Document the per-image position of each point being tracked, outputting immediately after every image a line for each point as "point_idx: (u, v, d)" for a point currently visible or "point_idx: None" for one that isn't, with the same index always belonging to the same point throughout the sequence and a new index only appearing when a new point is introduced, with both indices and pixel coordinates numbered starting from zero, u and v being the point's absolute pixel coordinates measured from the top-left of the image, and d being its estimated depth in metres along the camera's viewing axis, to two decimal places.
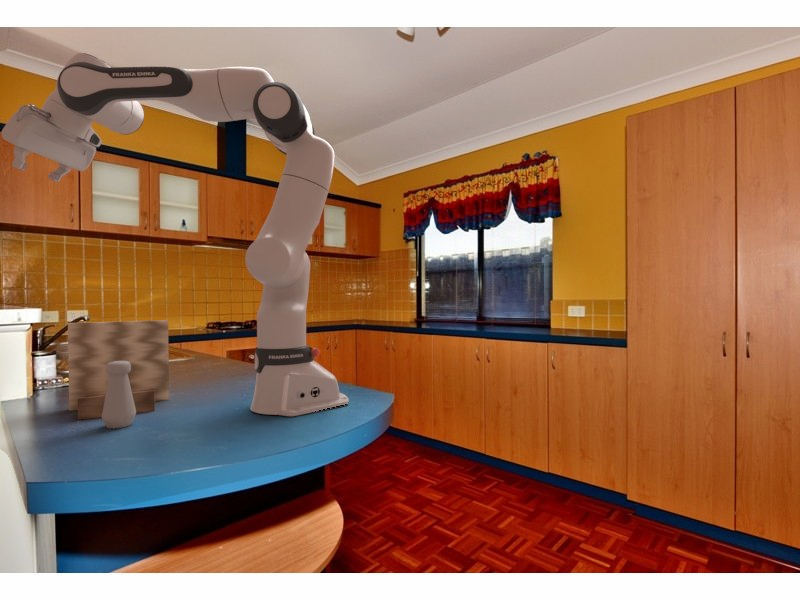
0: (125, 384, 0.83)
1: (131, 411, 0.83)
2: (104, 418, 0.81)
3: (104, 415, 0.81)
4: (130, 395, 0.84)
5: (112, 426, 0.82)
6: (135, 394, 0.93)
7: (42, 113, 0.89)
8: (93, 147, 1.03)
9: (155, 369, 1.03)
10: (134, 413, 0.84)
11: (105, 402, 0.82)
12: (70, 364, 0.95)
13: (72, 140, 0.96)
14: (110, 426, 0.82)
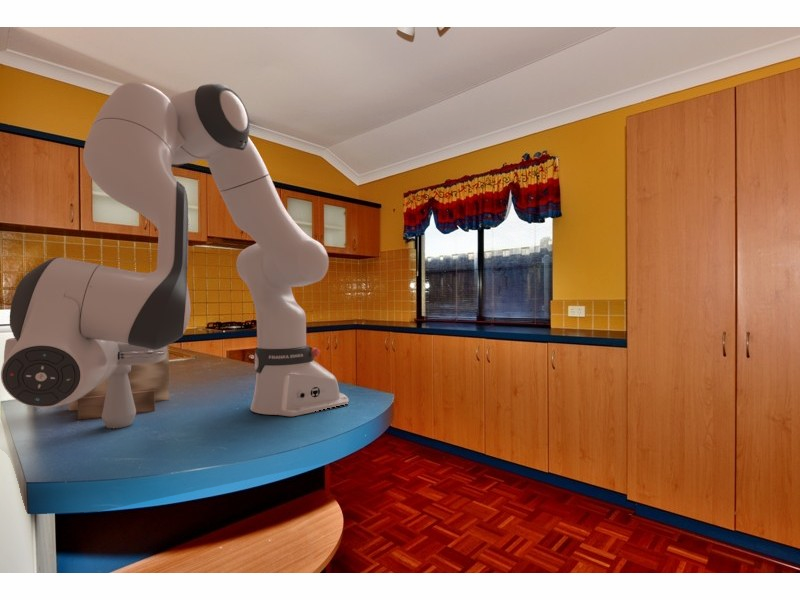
0: (125, 384, 0.83)
1: (131, 411, 0.83)
2: (104, 418, 0.81)
3: (104, 415, 0.81)
4: (130, 395, 0.84)
5: (112, 426, 0.82)
6: (135, 394, 0.93)
7: (133, 351, 0.63)
8: None
9: (155, 369, 1.03)
10: (134, 413, 0.84)
11: (105, 402, 0.82)
12: None
13: None
14: (110, 426, 0.82)
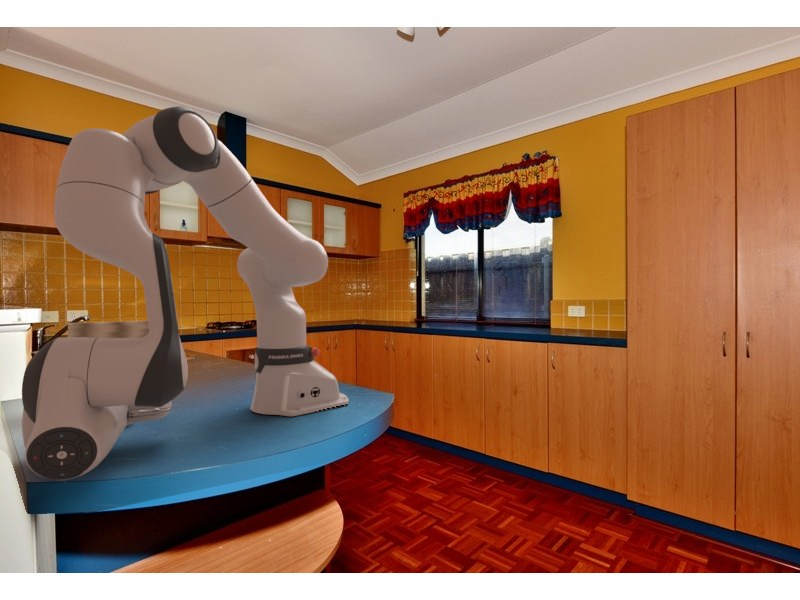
0: None
1: None
2: None
3: None
4: None
5: None
6: None
7: (141, 410, 0.68)
8: None
9: None
10: None
11: None
12: None
13: None
14: None
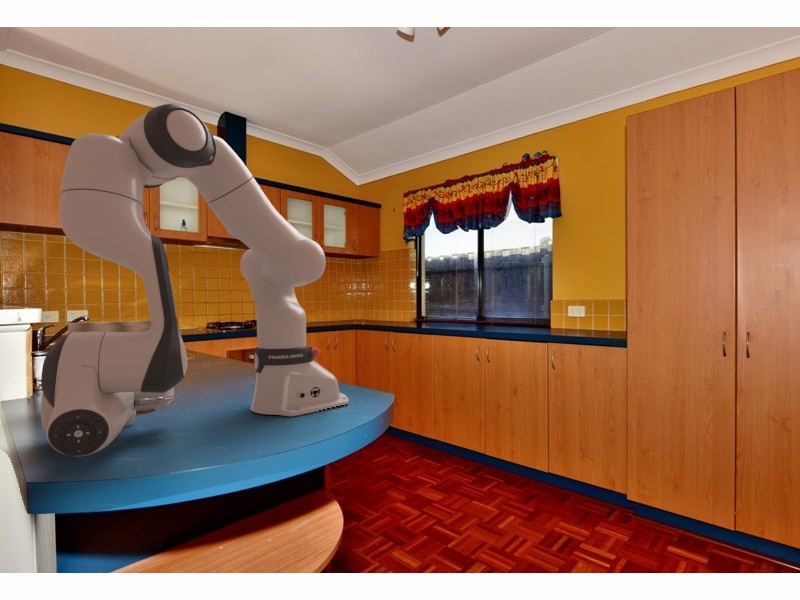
0: None
1: None
2: None
3: None
4: None
5: None
6: None
7: (146, 398, 0.75)
8: None
9: None
10: (134, 413, 0.84)
11: None
12: None
13: None
14: None
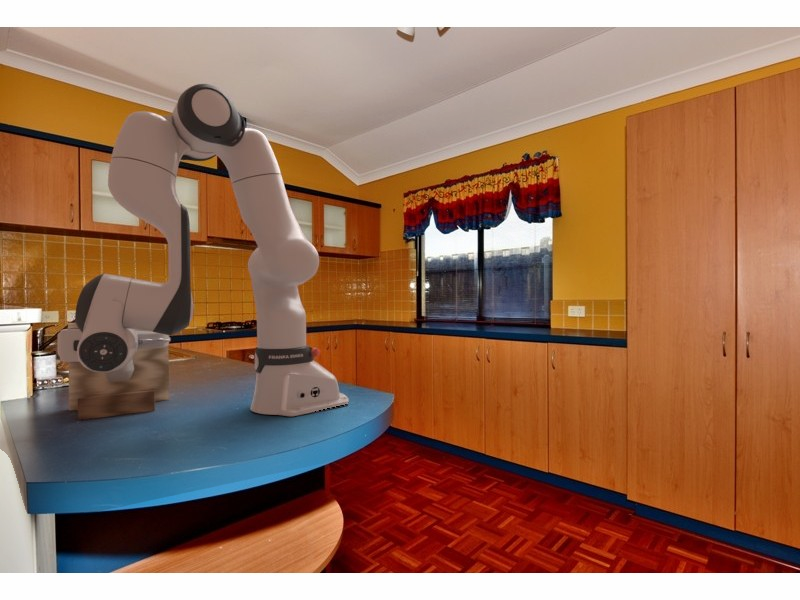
0: None
1: (130, 367, 0.96)
2: None
3: None
4: None
5: (114, 379, 0.94)
6: (135, 394, 0.93)
7: (148, 339, 0.89)
8: None
9: (155, 369, 1.03)
10: (133, 369, 0.97)
11: None
12: (70, 364, 0.95)
13: None
14: (112, 379, 0.94)
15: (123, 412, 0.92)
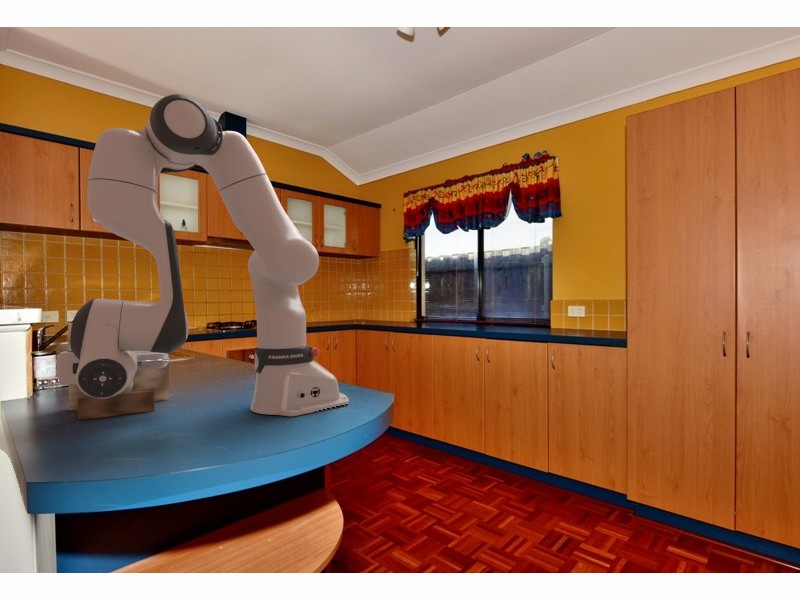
0: None
1: None
2: None
3: None
4: None
5: None
6: (135, 394, 0.93)
7: (148, 360, 0.89)
8: None
9: (155, 369, 1.03)
10: (132, 385, 0.97)
11: None
12: None
13: None
14: None
15: (123, 412, 0.92)
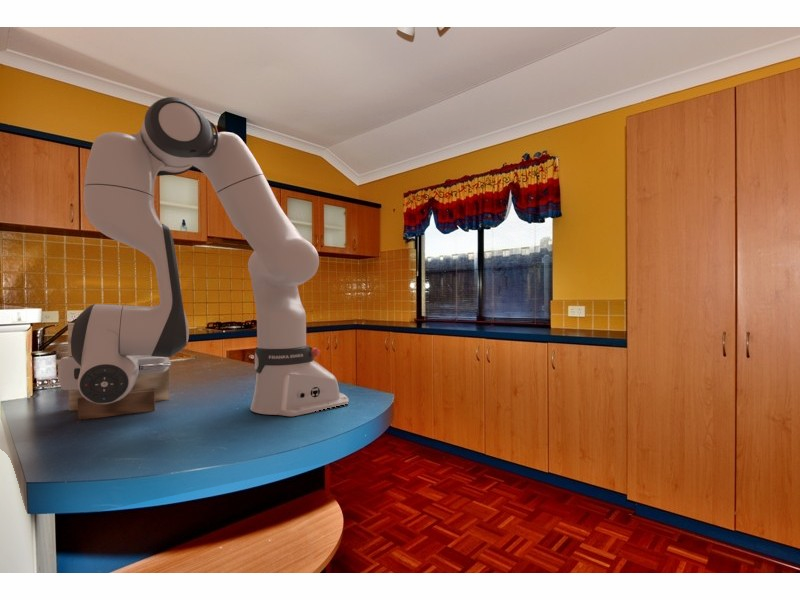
0: None
1: None
2: None
3: None
4: None
5: None
6: (135, 394, 0.93)
7: (149, 364, 0.89)
8: None
9: None
10: None
11: None
12: None
13: None
14: None
15: (123, 412, 0.92)
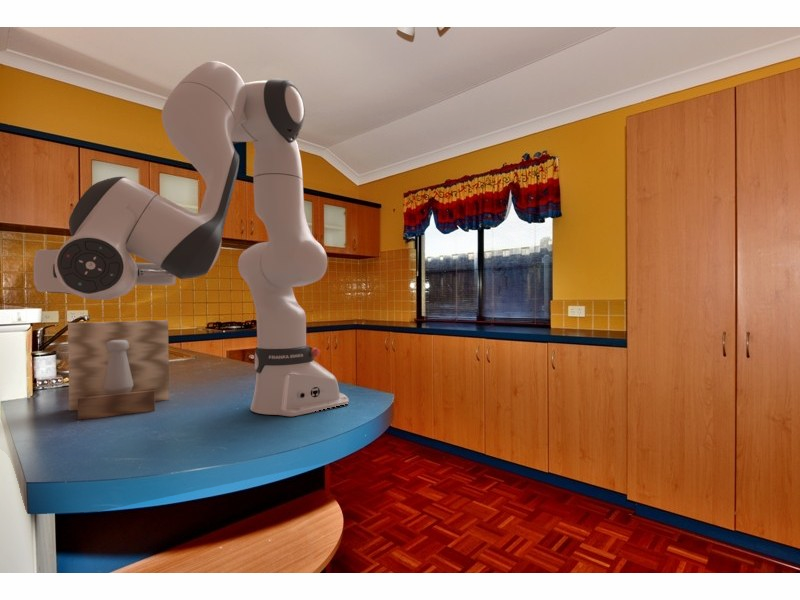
0: (125, 360, 0.96)
1: (130, 383, 0.96)
2: (107, 389, 0.93)
3: (107, 386, 0.93)
4: (128, 369, 0.97)
5: None
6: (135, 394, 0.93)
7: None
8: None
9: (155, 369, 1.03)
10: (132, 385, 0.97)
11: (107, 375, 0.94)
12: (70, 364, 0.95)
13: None
14: None
15: (123, 412, 0.92)
